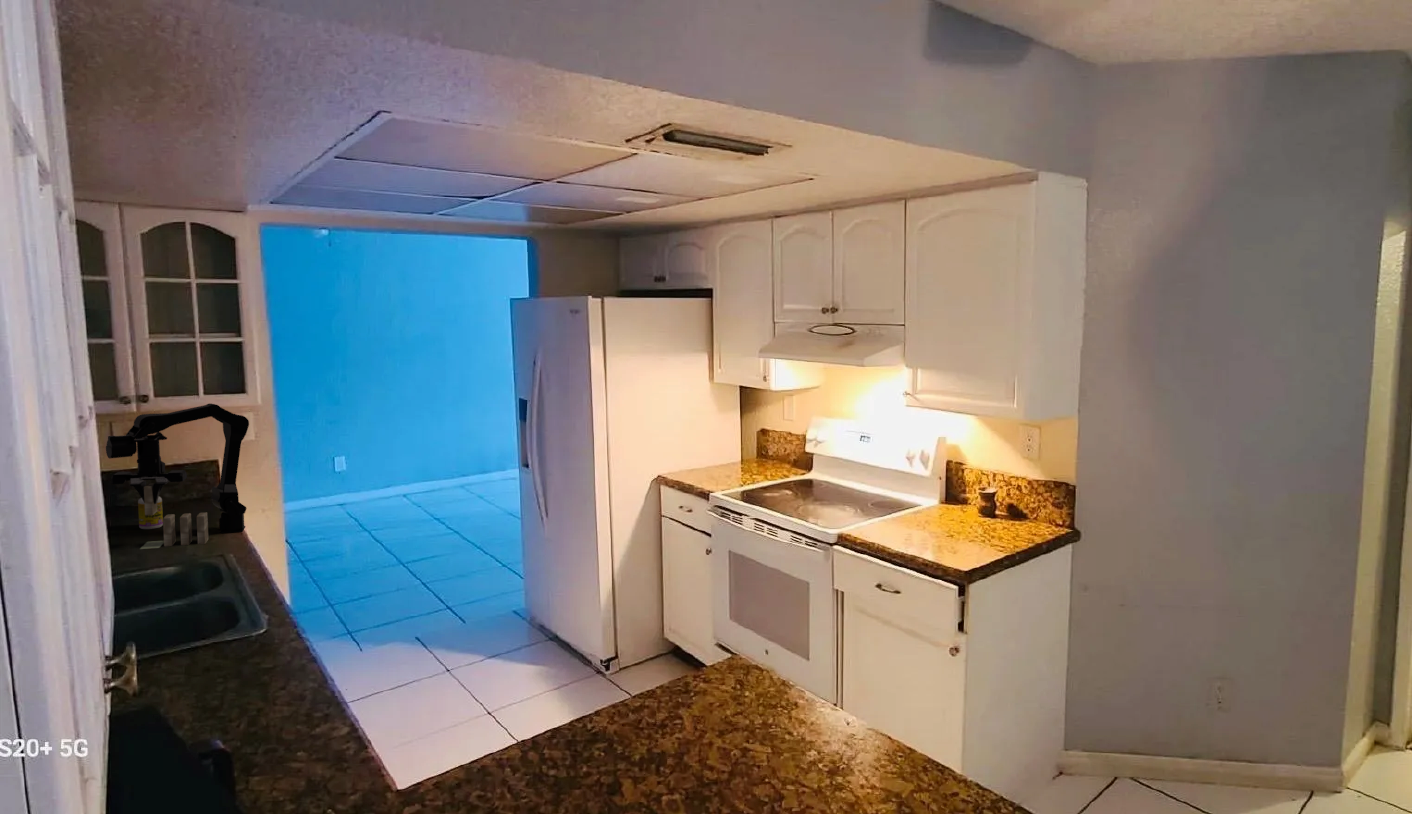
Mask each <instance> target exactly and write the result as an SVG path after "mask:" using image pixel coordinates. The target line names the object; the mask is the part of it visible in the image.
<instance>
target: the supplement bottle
mask: <svg viewBox="0 0 1412 814" xmlns="http://www.w3.org/2000/svg"><path fill="white" fill-rule="evenodd" d="M137 504H138V505H137V506H138V511H137V512H138V527H139V529H141V530H153V529H159V528H161V527H162V526H163V518H164V517H163V498H162V497H161V496H159V497H158V500H157V512H156V513H155V514H154V515H145V503H144V501H143V500H142V498H141V497H140V498H138V500H137Z"/></svg>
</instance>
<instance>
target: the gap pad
mask: <svg viewBox="0 0 1412 814" xmlns="http://www.w3.org/2000/svg"><path fill="white" fill-rule="evenodd" d="M162 546H164V540H154V541H146V542H145V543H144V544H143V545H142V546H141V547H140V548H139V550H149V549H151V550H152V549H160V548H161V547H162Z"/></svg>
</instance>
